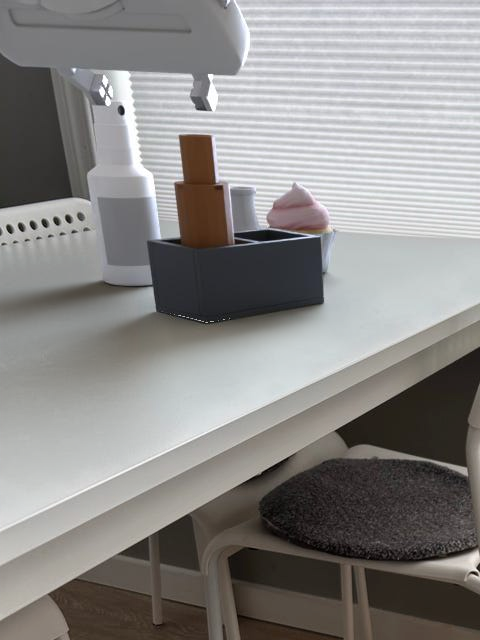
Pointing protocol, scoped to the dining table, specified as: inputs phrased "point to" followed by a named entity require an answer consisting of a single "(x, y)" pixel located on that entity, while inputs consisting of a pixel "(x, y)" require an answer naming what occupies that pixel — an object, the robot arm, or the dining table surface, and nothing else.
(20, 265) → the dining table surface
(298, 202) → the cupcake
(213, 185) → the bottle
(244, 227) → the flask
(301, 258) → the holder
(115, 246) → the spray bottle
